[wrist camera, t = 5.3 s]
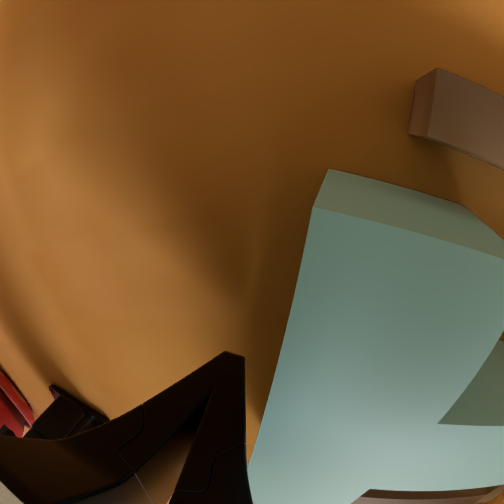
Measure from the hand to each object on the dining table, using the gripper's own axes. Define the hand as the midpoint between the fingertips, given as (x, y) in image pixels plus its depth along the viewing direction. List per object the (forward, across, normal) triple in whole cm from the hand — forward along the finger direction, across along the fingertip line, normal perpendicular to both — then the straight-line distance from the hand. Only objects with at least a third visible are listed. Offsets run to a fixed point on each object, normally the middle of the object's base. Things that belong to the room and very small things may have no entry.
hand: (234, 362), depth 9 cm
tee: (+2, -7, 0) cm, 8 cm away
